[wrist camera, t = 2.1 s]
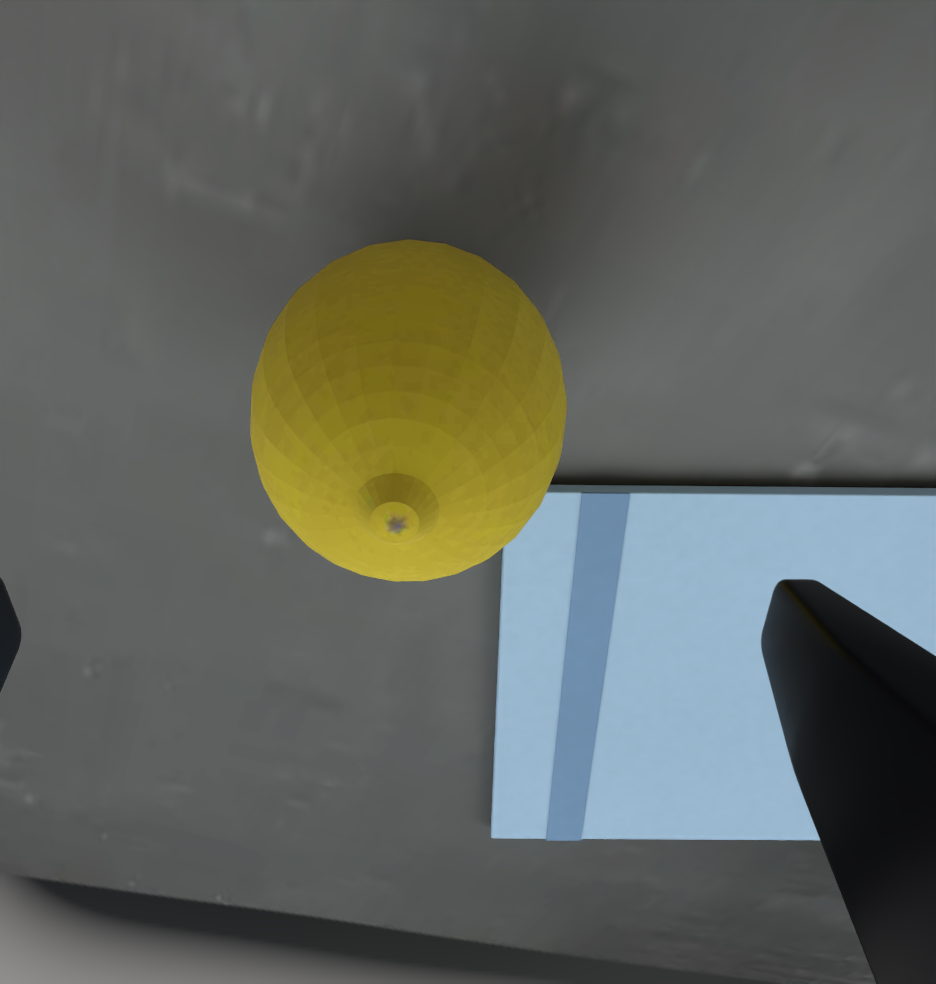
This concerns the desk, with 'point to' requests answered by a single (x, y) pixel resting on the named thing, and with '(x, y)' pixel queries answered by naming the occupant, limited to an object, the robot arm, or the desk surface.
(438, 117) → the desk surface
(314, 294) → the lemon
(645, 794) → the cloth
